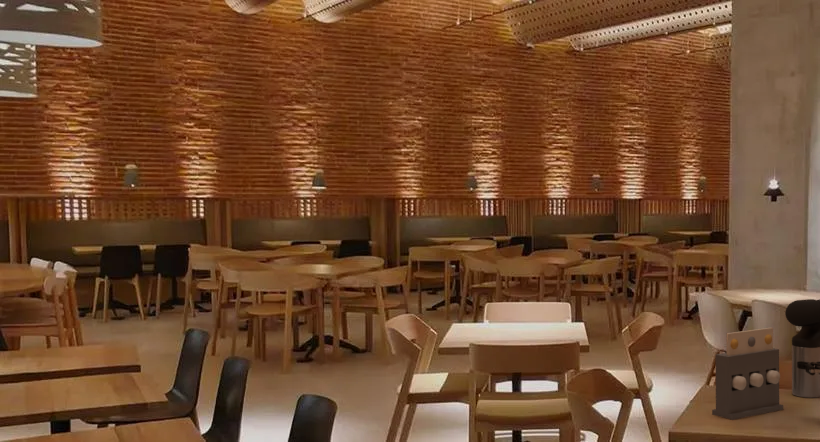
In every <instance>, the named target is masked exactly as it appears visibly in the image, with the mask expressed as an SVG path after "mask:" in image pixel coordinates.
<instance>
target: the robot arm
mask: <svg viewBox="0 0 820 442" xmlns="http://www.w3.org/2000/svg"><path fill="white" fill-rule="evenodd" d="M785 318H786V321H788V322H789V323H790V324H791V325H793V326H795V327H799V328H801V329H799V330H800V331H799V332H798V333H796V334H795V335H793V336H792V338H791V394H792V395H793V396H795V397H801V398H820V298H819V299H814V298H813V299H811V298H810V299H808V298H807V299H798V300H796V299H795V300H794V301H791V302H790V303H789V304H788V305H787V307H786V309H785Z"/></svg>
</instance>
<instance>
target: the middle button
mask: <svg viewBox="0 0 820 442" xmlns="http://www.w3.org/2000/svg"><path fill="white" fill-rule="evenodd" d="M763 381H764V379H763V376H762V375H761V374H758V373H753V372H750V373H749V385H751V386H756V387H760V386H762V384H763Z"/></svg>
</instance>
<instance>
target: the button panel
mask: <svg viewBox="0 0 820 442" xmlns="http://www.w3.org/2000/svg"><path fill="white" fill-rule="evenodd" d="M714 358H715V408H714V409H711V415H713V416H716V417H719V418H720V417H721V418H723V419H726V420H727V419H728V420H732V421H733V420H738V419H742V418H743V419H744V418H747V417H753V416H758V415H762V414H768V413H772V412H778V411H782V410H784V404H781V403H780V381H779V382H778V383H777V384H772V383H768V382H766V370H768V369H769V370H774V371H778V372H779V373H780V348H774V347H773V349H771V350H765V351H758V352H751V353H745V354H738V355H731V356H727V353H724V352H723V353H716V354H715V357H714ZM750 372H753V373H758V374H761V375H762V376H763V379H764V381H763V384H762V386H760V387H756V386H751V385H749V373H750ZM733 375H737V376H742V377H744V378H745V379H746V387H745V388H744V389H743V390H738V389H734V388H732V376H733Z"/></svg>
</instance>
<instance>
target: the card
mask: <svg viewBox="0 0 820 442" xmlns="http://www.w3.org/2000/svg"><path fill="white" fill-rule="evenodd" d="M773 348H774V328H773V327H767V328H766V327H764V328H759V329H758V328H757V329H750V330H742V331H735V332H734V331H733V332H727V333H726V352H727V356H731V355H738V354H745V353H751V352H758V351H765V350H771V349H773Z"/></svg>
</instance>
